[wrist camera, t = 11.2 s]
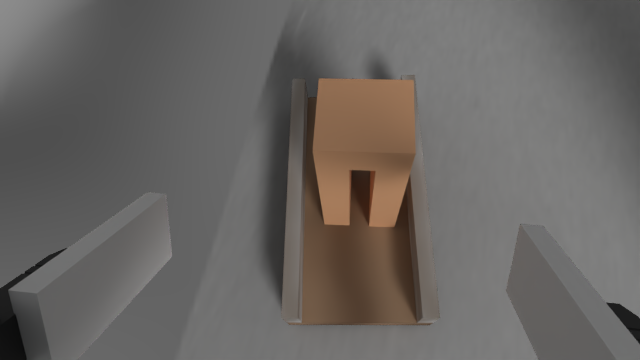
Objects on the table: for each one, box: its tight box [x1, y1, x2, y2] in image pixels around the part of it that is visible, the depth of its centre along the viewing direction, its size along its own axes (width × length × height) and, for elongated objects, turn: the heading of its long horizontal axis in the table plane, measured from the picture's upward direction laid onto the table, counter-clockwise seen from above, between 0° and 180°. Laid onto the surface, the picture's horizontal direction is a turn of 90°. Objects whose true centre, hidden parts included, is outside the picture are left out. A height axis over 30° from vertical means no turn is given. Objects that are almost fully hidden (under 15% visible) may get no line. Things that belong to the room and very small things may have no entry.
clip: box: [313, 78, 416, 227], centre depth 27 cm, size 5×4×11 cm
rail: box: [281, 75, 440, 325], centre depth 31 cm, size 10×18×4 cm, turn 0°
